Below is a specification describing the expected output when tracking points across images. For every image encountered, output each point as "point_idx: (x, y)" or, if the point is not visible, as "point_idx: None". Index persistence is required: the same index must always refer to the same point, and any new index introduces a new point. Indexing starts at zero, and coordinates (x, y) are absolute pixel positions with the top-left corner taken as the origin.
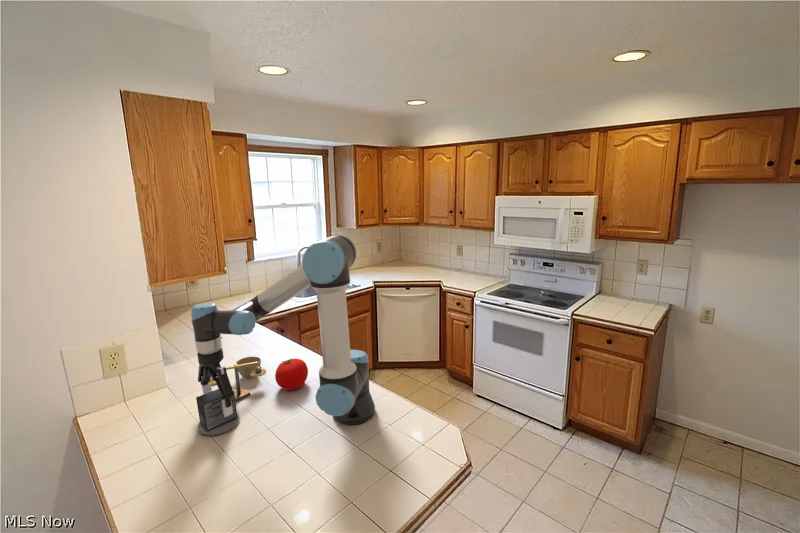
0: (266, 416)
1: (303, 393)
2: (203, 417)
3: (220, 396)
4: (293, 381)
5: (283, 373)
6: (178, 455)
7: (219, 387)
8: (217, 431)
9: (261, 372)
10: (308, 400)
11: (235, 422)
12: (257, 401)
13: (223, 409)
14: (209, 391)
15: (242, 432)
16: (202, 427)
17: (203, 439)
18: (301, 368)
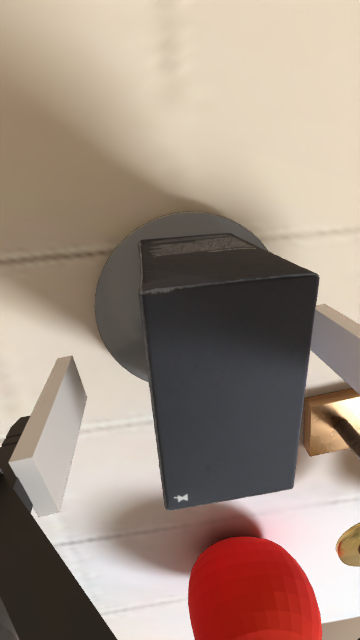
0: (115, 452)
1: (170, 558)
2: (159, 254)
3: (158, 433)
4: (191, 605)
5: (233, 633)
6: (52, 55)
7: (9, 592)
8: (109, 284)
9: (357, 553)
10: (117, 559)
11: (128, 364)
12: None
13: (51, 387)
14: (355, 375)
15: None
16: (195, 235)
17: (119, 214)
18: None
